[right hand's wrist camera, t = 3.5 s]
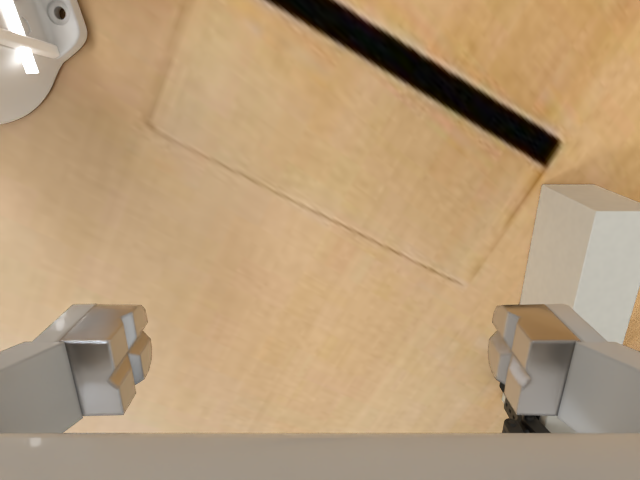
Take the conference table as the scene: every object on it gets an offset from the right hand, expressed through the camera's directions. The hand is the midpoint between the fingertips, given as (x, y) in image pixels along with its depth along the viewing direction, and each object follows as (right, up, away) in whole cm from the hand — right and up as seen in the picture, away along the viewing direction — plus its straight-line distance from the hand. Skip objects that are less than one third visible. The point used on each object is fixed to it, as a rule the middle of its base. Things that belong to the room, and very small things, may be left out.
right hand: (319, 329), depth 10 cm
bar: (+22, -4, +32) cm, 39 cm away
